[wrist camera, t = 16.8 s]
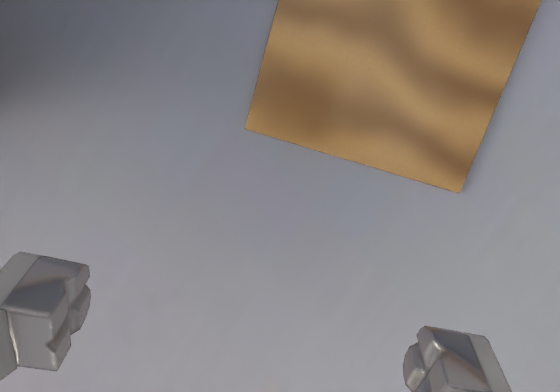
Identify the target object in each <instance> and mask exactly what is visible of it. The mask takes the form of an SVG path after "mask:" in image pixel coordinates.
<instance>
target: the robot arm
mask: <svg viewBox="0 0 560 392" xmlns="http://www.w3.org/2000/svg"><path fill="white" fill-rule="evenodd" d="M89 277H90V273H89V266H88V265H86V264H81V263H76V262H72V261H67V260H62V259H57V258H52V257H47V256H41V255H36V254H31V253H26V252H21V251H20V252H18V253H17V254H15V255H13V256H12V257H11V258H10V260H9V261H8V262H7V263H6V264H5V265H4V267H3V268H2V269H1V270H0V380H2V379H3V378H5V377H6V376H7V375H9V374H10V373H11V372H13V371H14V370H15V369H17V366H20V367H28V368H35V369H43V370H50V371H58V369H59V367H60V365H61V363H62V362H63V360H64V358H65V356H66V354H67V352H68V351H69V349H70V347H71V338H70V335H72V334H73V333H75V332H77V331H78V330H80V328H81V326H82V324H83V322H84V320H85V318H86V315H87V312H88V309H89V305H90V298H91V292H90V289H89V288H88V287H87V285H86V282H87V281H88V279H89ZM417 339H418V343H416V344H414V345H412V346H410V347H409V349H408V351H407V352H406V354H405V358H404V364H403V375H404V380H405V384H406V386H407V387H408V388H409V389H410V391H411V392H512V391H511V389H510V387H509V385H508V382H507V380H506V378H505V376H504V374H503V371H502V369H501V367H500V365H499V363H498V360H497V358H496V356H495V354H494V351H493V349H492V347H491V345H490V343H489V341H488V339H487V338H486V337H485V336H482V335H476V334H470V333H463V332H459V331H453V330H447V329H442V328H436V327H430V326H424V327H422V328H421V329H420V330H419V332H418V334H417Z"/></svg>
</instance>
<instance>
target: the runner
mask: <svg viewBox="0 0 560 392" xmlns="http://www.w3.org/2000/svg"><path fill="white" fill-rule="evenodd" d="M540 2H541V0H278V4H277V8H276V12H275V15H274V19H273V23H272V27H271V31H270V34H269V38H268V42H267V46H266V50H265V53H264V57H263V61H262V65H261V69H260V72H259V76H258V80H257V84H256V88H255V91H254V95H253V99H252V103H251V107H250V110H249V114H248V118H247V122H246V126H245V129H247V130H251V131H254V132H257V133H261V134H264V135H267V136H271V137H274V138H277V139H280V140H284V141H287V142H290V143H294V144H297V145H300V146H304V147H307V148H310V149H314V150H317V151H320V152H324V153H327V154H330V155H334V156H337V157H340V158H344V159H347V160H350V161H353V162H357V163H360V164H363V165H367V166H370V167H373V168H377V169H380V170H383V171H387V172H390V173H393V174H397V175H400V176H403V177H407V178H410V179H413V180H417V181H420V182H423V183H427V184H430V185H433V186H436V187H440V188H443V189H446V190H450V191H453V192H456V193H460V191H461V189H462V186H463V184H464V182H465V179H466V177H467V174H468V172H469V170H470V167H471V165H472V163H473V160H474V158H475V156H476V153H477V151H478V149H479V146H480V144H481V141H482V139H483V137H484V134H485V132H486V130H487V127H488V125H489V123H490V120H491V118H492V115H493V113H494V111H495V108H496V106H497V104H498V101H499V99H500V97H501V94H502V92H503V89H504V87H505V85H506V82H507V80H508V78H509V75H510V73H511V71H512V68H513V66H514V64H515V61H516V59H517V56H518V54H519V52H520V49H521V47H522V45H523V42H524V40H525V38H526V35H527V33H528V30H529V28H530V26H531V23H532V21H533V19H534V16H535V14H536V12H537V9H538V7H539V4H540Z"/></svg>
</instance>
